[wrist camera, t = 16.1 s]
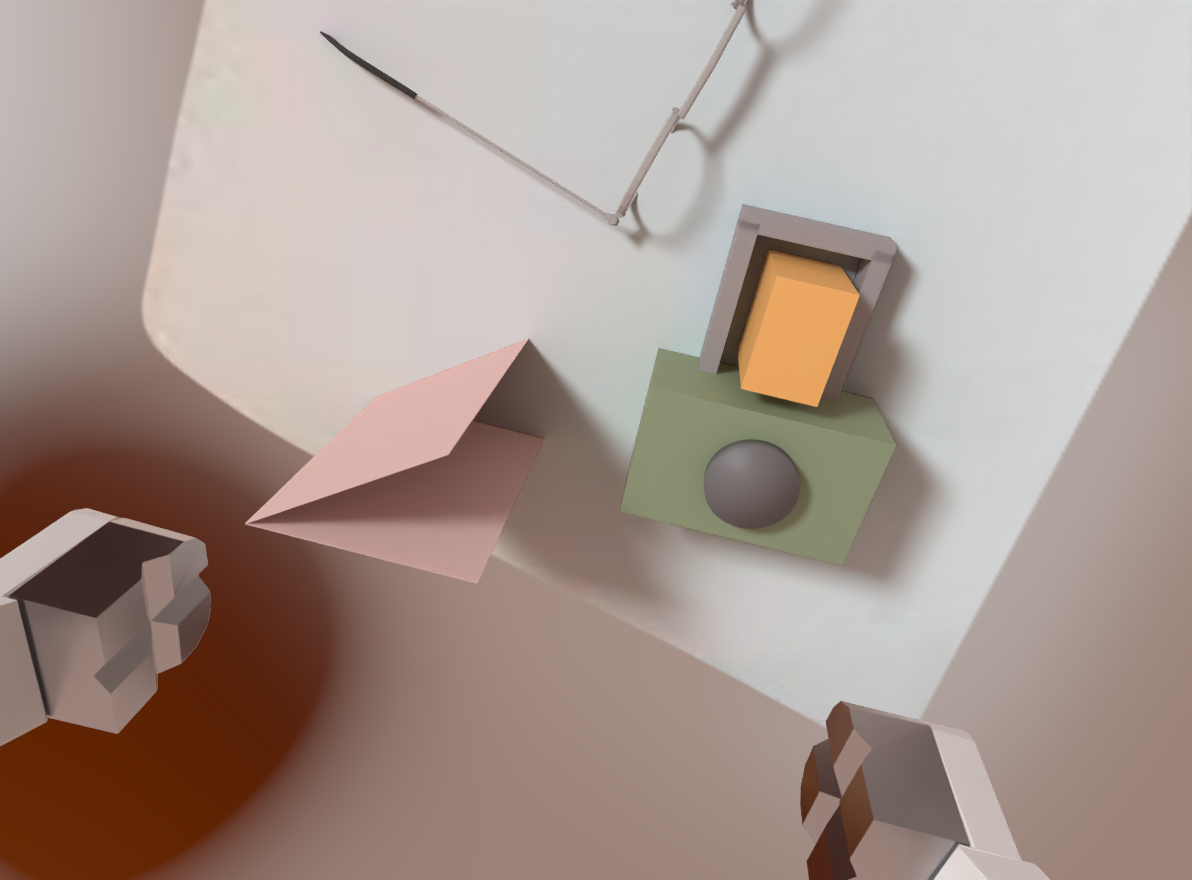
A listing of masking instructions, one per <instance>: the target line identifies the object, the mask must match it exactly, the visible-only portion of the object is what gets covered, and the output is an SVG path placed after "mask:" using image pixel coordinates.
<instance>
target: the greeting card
mask: <svg viewBox="0 0 1192 880" xmlns="http://www.w3.org/2000/svg"><path fill="white" fill-rule="evenodd" d="M528 340H529V339H526V340H524V341H521V342H518V343H516V344H513V345H511V346H508V347H505V348H503V349H500V350H497V351H495V352H492V353H490V354H487V355H484V356H482V357H479V358H477V359H474V360H471V361H469V362H466V363H464V364H461V365H458V366H456V367H453V368H451V369H448V370H445V371H443V372H440V373H437V374H435V375H432V376H430V377H427V378H424V379H422V380H419V381H417V382H414V383H411V384H409V385H406V386H404V387H401V388H398V389H396V390H393V391H390V392H388V393H385V394H383V395H380V396H377V397H376V398H375V399H373V400H372V401H371V402H370V403H369V404H368V405H367V406H366V407H365V408H364V409H363V410H362V411H361V412H360V413H359V414H358V415H357V416H356V417H355V418H354V419H353V420H352V421H351V422H350V423H349V424H348V425H347V426H345V427H344V428H343V429H342V430H341V431H340V432H339V433H338V434H337V435H336V436H335V437H334V438H333V439H332V440H331V441H330V442H329V443H328V444H327V445H326V446H325V447H324V448H323V449H322V450H321V451H320V452H319V453H318V454H316V455H315V456H314V457H313V458H312V459H311V460H310V461H309V462H308V463H307V464H306V465H305V466H304V467H303V468H302V469H301V470H300V471H299V472H298V473H297V474H296V475H295V476H294V477H293V478H292V479H291V480H290V481H289V482H288V483H287V484H285V485H284V486H283V487H282V488H281V489H280V490H279V491H278V492H277V493H276V494H275V495H274V496H273V497H272V498H271V499H270V500H269V501H268V502H267V503H266V504H265V505H264V506H263V507H262V508H261V509H259V510H258V511H257V512H256V513H255V514H254V515H253V516H252V517H251V518H250V519H249V520H248V521H247V522H246V523H245V524H246V525H250V526H254V527H258V528H262V529H266V530H270V531H274V532H278V533H282V534H285V535H290V536H293V537H297V538H301V539H305V540H309V541H313V542H317V543H320V544H324V545H328V546H332V547H336V548H340V549H344V550H348V551H352V552H355V553H359V554H363V555H368V556H371V557H375V558H379V559H383V560H387V561H391V562H394V563H398V564H402V565H406V566H410V567H414V568H418V569H422V570H426V571H430V572H433V573H438V574H442V575H445V576H449V577H453V578H457V579H461V580H465V581H468V582H472V583H476V584H477V583H478V582H479V579H480V577H481V575H482V573H483V571H484V569H485V566H486V564H487V562H488V560H489V558H490V556H491V553H492V551H493V549H494V547H495V545H496V543H497V540H498V538H499V536H500V534H501V532H502V530H503V527H504V525H505V523H506V521H507V519H508V516H509V514H510V512H511V510H512V508H513V506H514V503H515V501H516V499H517V497H518V495H519V493H520V490H521V488H522V486H523V484H524V482H525V480H526V477H527V475H528V473H529V471H530V469H531V467H532V464H533V462H534V460H535V458H536V456H537V454H538V451H539V449H540V447H541V445H542V443H543V440H544V439H543V438H539V437H535V436H531V435H527V434H523V433H519V432H515V431H511V430H507V429H503V428H499V427H495V426H491V425H487V424H483V423H478V422H474V421H473V419H474V418H475V416H476V415H477V414H478V412H479V411H480V409H481V408H482V406H483V405H484V403H485V402H486V400H487V399H488V398H489V396H490V395H491V393H492V392H493V390H494V389H495V387H496V386H497V385H498V383H499V382H500V380H501V379H502V377H503V376H504V374H505V373H506V371H507V370H508V369H509V367H510V366H511V364H512V363H513V361H514V360H515V358H516V357H517V356H518V354H519V353H520V351H521V350H522V348H523V347H524V345H525V344H526V342H527V341H528Z"/></svg>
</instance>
